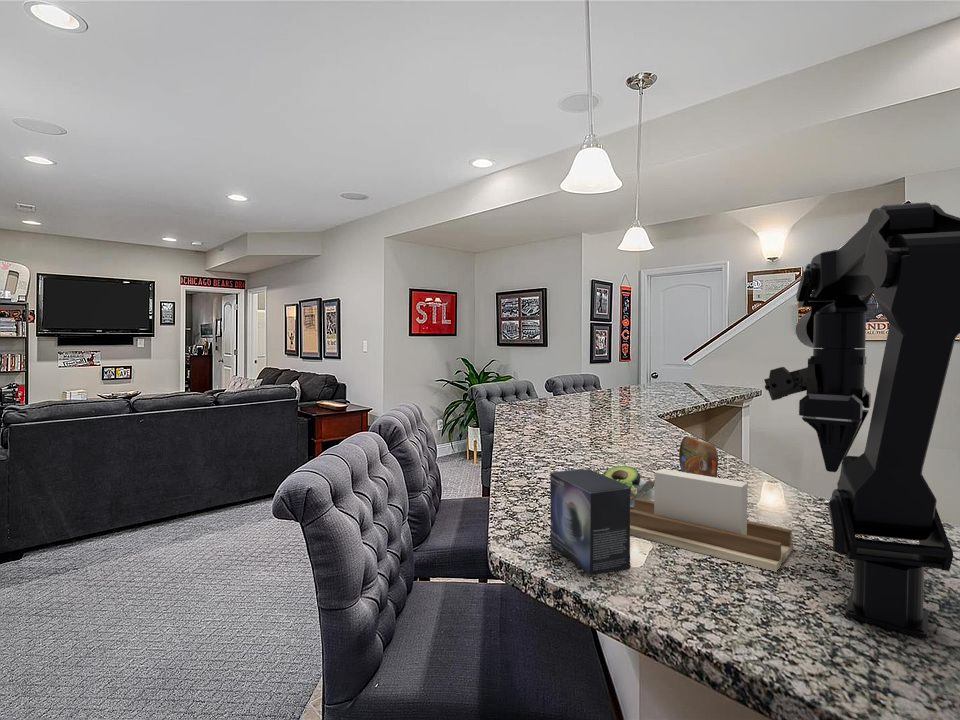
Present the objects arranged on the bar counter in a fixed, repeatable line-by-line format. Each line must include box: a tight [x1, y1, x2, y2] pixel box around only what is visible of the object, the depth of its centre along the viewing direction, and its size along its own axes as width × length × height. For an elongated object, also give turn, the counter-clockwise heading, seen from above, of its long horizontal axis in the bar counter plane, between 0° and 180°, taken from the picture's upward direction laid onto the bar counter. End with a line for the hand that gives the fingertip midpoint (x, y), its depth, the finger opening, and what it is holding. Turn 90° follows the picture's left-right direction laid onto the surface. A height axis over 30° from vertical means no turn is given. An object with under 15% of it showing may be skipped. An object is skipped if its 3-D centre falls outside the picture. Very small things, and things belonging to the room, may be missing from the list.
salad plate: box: [603, 465, 655, 510], centre depth 96 cm, size 19×18×5 cm
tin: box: [678, 436, 719, 478], centre depth 109 cm, size 15×3×8 cm, turn 179°
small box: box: [549, 467, 631, 576], centre depth 69 cm, size 11×6×10 cm, turn 21°
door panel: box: [653, 468, 749, 535], centre depth 75 cm, size 3×12×8 cm, turn 49°
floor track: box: [630, 498, 794, 573], centre depth 75 cm, size 10×22×3 cm, turn 49°
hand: (835, 465), depth 70 cm, fingers open, 9 cm apart
